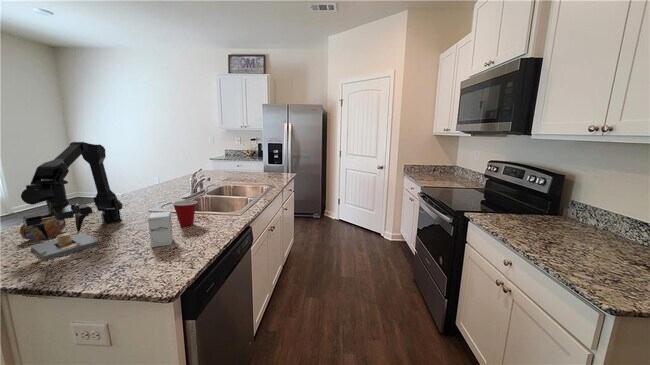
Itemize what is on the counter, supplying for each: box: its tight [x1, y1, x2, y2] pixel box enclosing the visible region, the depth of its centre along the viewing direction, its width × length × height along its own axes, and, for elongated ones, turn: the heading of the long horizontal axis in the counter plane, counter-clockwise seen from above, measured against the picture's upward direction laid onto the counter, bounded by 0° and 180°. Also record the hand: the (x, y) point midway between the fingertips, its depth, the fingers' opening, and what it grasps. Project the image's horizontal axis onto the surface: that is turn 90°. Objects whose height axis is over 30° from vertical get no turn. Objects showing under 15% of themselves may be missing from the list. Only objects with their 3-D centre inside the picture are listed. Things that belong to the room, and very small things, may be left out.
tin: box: [19, 218, 67, 241], centre depth 116 cm, size 15×3×8 cm, turn 168°
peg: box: [56, 233, 73, 248], centre depth 106 cm, size 4×4×5 cm
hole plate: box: [30, 232, 100, 261], centre depth 106 cm, size 16×16×2 cm
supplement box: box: [147, 211, 174, 248], centre depth 110 cm, size 7×7×13 cm
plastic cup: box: [172, 200, 198, 228], centre depth 131 cm, size 11×11×12 cm
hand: (63, 235), depth 105 cm, fingers open, 9 cm apart
